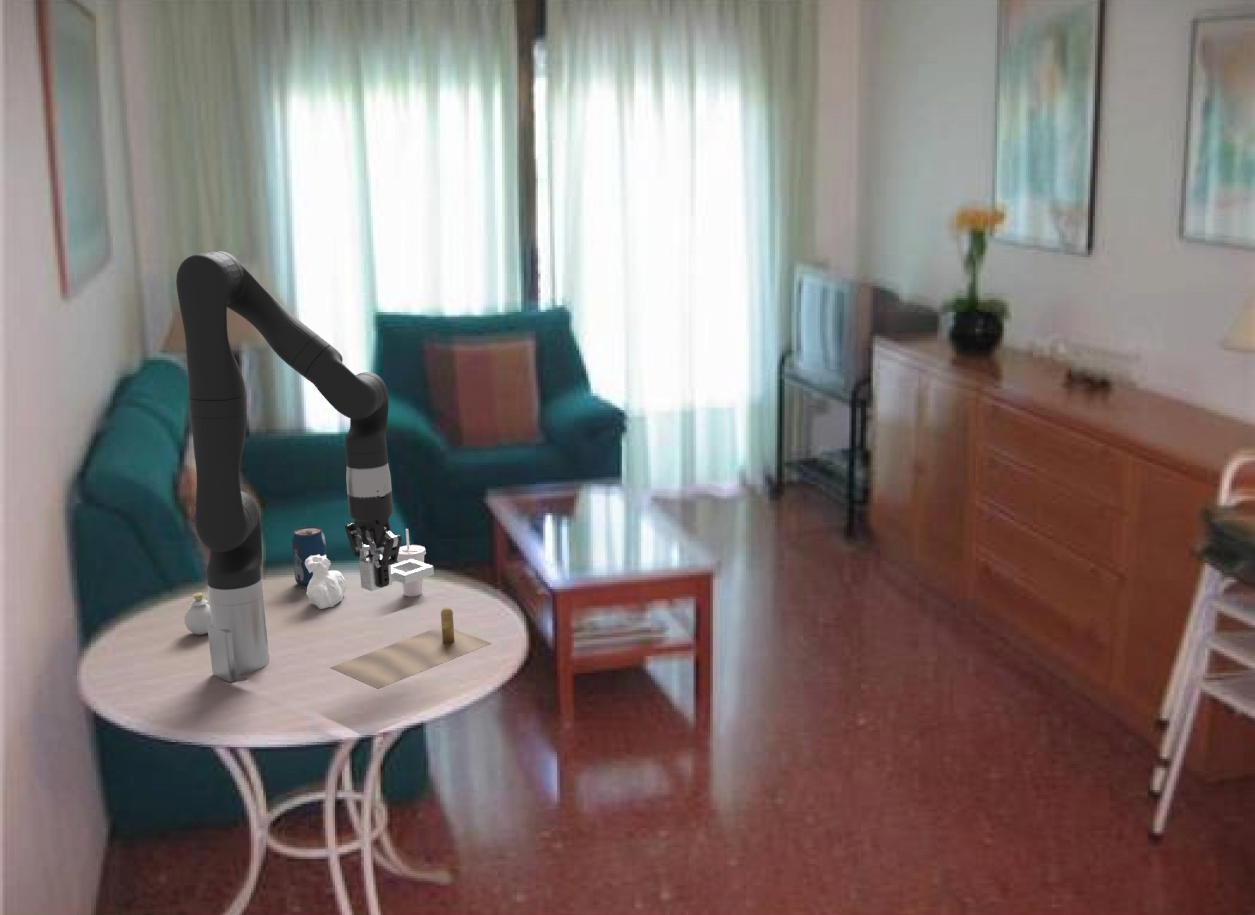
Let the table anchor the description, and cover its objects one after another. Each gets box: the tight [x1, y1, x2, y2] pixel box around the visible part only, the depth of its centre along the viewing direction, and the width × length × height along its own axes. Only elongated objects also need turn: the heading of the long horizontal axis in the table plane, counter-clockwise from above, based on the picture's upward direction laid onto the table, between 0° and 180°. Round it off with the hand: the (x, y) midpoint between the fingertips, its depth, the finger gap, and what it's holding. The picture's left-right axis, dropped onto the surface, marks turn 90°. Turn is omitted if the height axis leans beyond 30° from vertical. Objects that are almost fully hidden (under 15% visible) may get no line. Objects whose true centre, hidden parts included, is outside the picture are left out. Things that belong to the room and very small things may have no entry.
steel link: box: [358, 553, 435, 592], centre depth 229 cm, size 12×6×5 cm, turn 137°
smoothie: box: [397, 528, 427, 597], centre depth 270 cm, size 6×6×14 cm
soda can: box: [291, 526, 328, 589], centre depth 277 cm, size 7×7×12 cm
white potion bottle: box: [184, 586, 212, 636], centre depth 251 cm, size 6×7×10 cm
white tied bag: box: [305, 554, 347, 610], centre depth 267 cm, size 12×8×11 cm
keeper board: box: [330, 607, 492, 690], centre depth 235 cm, size 26×14×8 cm, turn 137°
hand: (376, 583), depth 227 cm, fingers closed on steel link, 3 cm apart
